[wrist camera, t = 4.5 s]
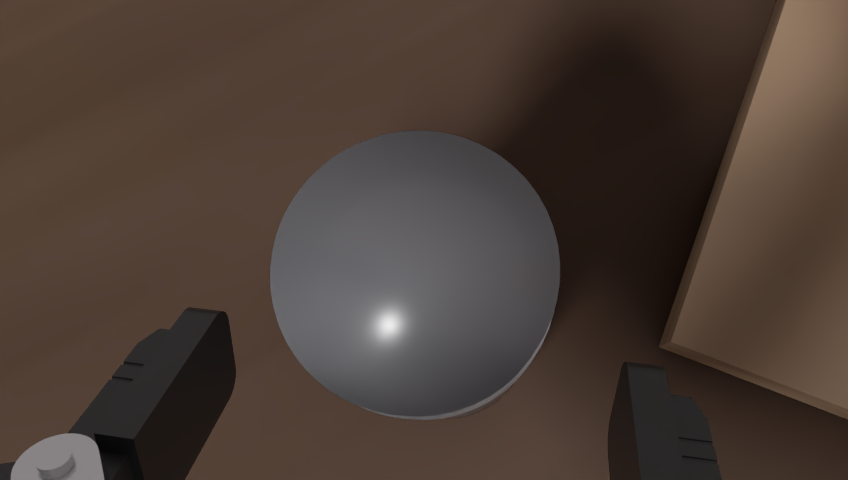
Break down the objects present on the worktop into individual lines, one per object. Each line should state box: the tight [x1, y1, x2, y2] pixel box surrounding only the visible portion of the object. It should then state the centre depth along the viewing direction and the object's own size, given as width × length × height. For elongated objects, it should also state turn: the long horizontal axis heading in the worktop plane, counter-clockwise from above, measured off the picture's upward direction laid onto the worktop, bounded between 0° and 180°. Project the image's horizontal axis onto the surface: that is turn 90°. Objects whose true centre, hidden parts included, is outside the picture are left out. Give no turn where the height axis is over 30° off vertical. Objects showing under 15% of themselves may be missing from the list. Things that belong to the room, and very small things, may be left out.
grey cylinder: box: [270, 131, 560, 420], centre depth 17 cm, size 5×5×10 cm
